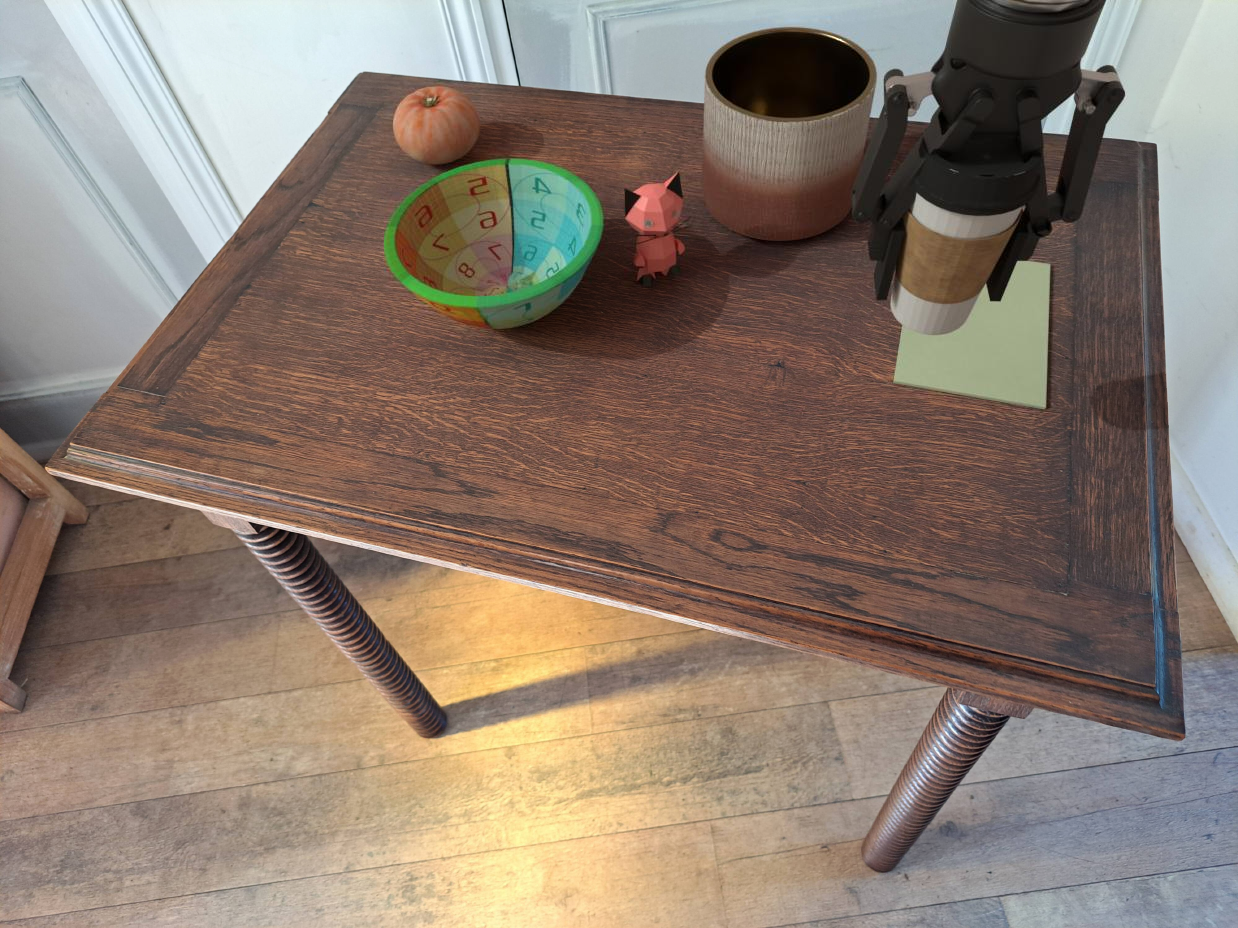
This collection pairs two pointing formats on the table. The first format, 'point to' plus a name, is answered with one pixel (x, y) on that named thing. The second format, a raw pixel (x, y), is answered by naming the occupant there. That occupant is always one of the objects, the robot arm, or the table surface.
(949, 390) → the sage mat
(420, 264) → the bowl
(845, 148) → the planter
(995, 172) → the coffee cup
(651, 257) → the cat figurine
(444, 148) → the pumpkin
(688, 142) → the table surface
